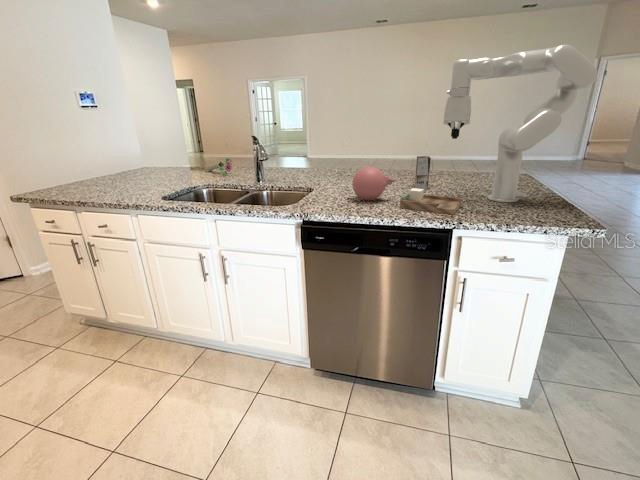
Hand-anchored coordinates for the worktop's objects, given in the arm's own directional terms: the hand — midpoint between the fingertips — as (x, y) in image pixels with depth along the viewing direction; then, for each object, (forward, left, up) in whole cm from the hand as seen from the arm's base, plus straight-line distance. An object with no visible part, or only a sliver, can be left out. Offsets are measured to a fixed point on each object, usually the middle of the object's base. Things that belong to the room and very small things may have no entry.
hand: (454, 138), depth 148 cm
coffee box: (+18, -20, -27) cm, 38 cm away
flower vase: (+155, -5, -27) cm, 158 cm away
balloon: (+30, +17, -27) cm, 44 cm away
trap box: (+4, +18, -27) cm, 32 cm away
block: (+11, +14, -25) cm, 31 cm away
